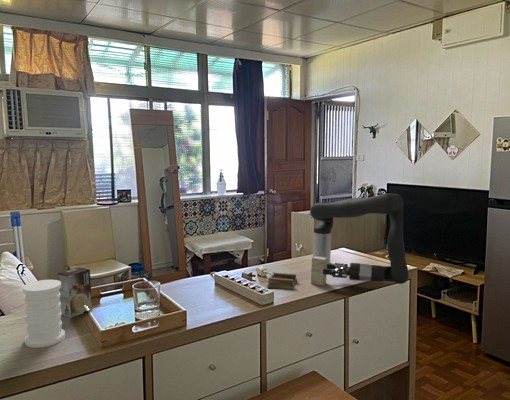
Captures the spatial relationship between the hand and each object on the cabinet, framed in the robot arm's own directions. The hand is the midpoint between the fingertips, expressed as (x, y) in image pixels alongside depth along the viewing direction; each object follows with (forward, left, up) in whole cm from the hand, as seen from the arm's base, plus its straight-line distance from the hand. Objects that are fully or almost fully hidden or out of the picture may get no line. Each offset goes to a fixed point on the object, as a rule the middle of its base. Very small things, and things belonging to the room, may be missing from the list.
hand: (323, 268), depth 184 cm
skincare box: (0, -2, -7) cm, 8 cm away
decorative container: (+79, -81, -7) cm, 114 cm away
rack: (+5, -18, -7) cm, 20 cm away
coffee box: (+58, -86, -7) cm, 104 cm away
